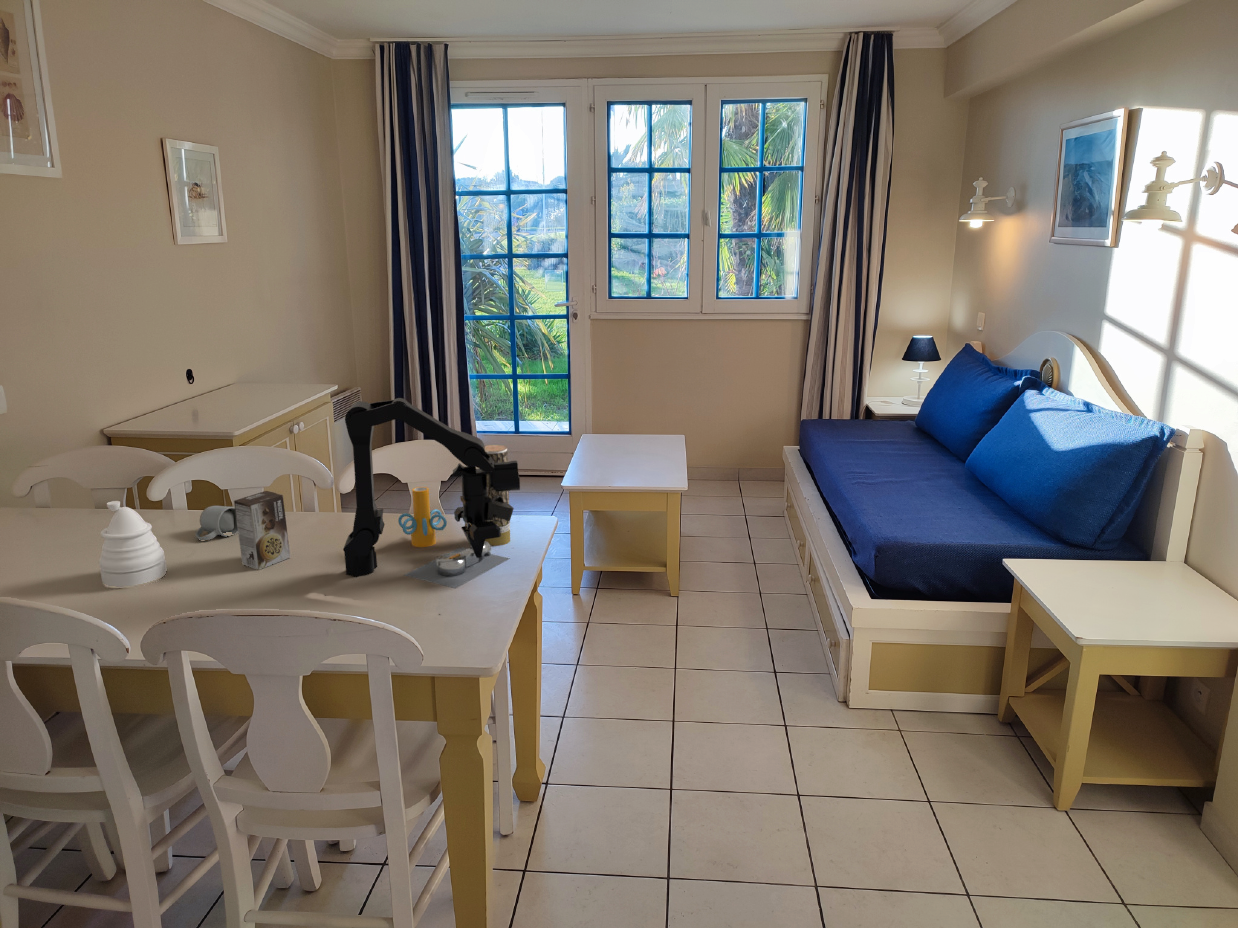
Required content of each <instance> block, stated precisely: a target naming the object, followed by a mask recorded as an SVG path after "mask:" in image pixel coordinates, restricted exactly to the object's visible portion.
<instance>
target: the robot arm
mask: <svg viewBox="0 0 1238 928" xmlns="http://www.w3.org/2000/svg"><path fill="white" fill-rule="evenodd" d="M344 417H345V418H344V423H345V426H346V429H347V430H346V431H347V434H348V437H349V439H350V442H351V444H352V451H353V452H352V453H353V469H354V470H353V471H354V483H355V484H354V485H355V487H354V488H355V501H356V502H355V503H356V508H355V515H354V520H353V526H352V527H353V528H352V531H351V533H349V534H348V536H347V539H346V541H345V544H344V546H343V549H342V550H343V552H344V562H345V563H344V564H345V573H346V575H347V576H350V577H355V578H358V577H365V576H369V575H371V574H373V573H374V572H375V570H376V569H377V568H378V561H377V559H378V558H377V552H376V548H375V547H376V544H377V543H378V541H379V538H380V535H382V534H383V532H384V528H385V521H384V519H383V517H384V515H383V514H384V508H380V509H378V507H377V505H376V502H375V486H374V485H375V483H374V467H373V465H374V464H373V450H372V449H373V448H372V447H373V446H372V443H373V442H372V441H373V437H374V429H375V426H379V425H382V424H385V423H388V422H391V421H396V420H400V421H401V422H403V423H405V424H406V425H408V426H410V427H412V428H413V429H414V430H416V431H419V432H420V433H421V434H424V435H425V436H427V438H430V439H431V440H434V441H435V442H437V443H439V444H440V445H442V446H443V447H444V448H445V449H447V450H448V451H449V452H450V454H451V455H452V456H454V457H455V458H456V459H457V460H458V461H459V463H458V464H457V466H456V467H455V468H454V469H452V477H459V476H460V478H461V481H460V482H461V495H460V496H459V498H460V499H459V500H460V501H461V502H462V506H459V507H456V509H454V520H455V521H456V522H457V523H458V522H460V521H461V519H462V521H463V522H464V526H461V530H462V533H463V534H464V536H465V538H466V540H467V541H468V543H469V545H470V547H472V549H473V551H474V553H475V555H476V557H477V558H480V557H481V556H482V551H483V547H484V543H485V539H491V538H498V537H500V536H501V529H500V527H499V526H497V525H496V524H495V523H494V522H493V521H486V520H493V517H496V518H500V519H505V520H506V521H510V522H511V519H512V517H513V512H514V509H515V508H514V507H513V506H512V505H511V504H510V503H509V504H507V503H504V500H503V498H502V497H500V496H495V497H494V498H493V499H491V498H490V497H489V496H488V491H487V474H490V488H493V490H495V492H500V491H509V492H512V491H516V492H517V491H520V490H521V482H520V481H521V480H520V479H521V478H520V474H519V468H518V467H519V466H518V465H519V464H518V461H517V460H510V461H509V460H508V462H497V463H494V461H493V459H492V457H490V456H489V455H488V453H487V452H486V451H485V446H486V445H485V443H484V442H483V440H482V439H480V438H479V437H477V436H475V435H472V434H469V433H467V432H464V431H460V430H458V429H457V430H456V429H453V428H452V427H450V426H448V425H446V424H445V423H443V422H442V421H440V420H438V419H436V418H434V416H432V415H430V414H428V413H426V412H424V410H422V409H420V408H418V407H416V406H415V405H413V404H412V403H410V402H409V401H408V400H407V399H405V398H402V397H398V398H395V399H390V400H381V401H374V402H371V403H369V402H367V401H356V402H354V403H353V404H352V405H351V406H350V407H349V409H348V410H347V412H346V413H345V416H344ZM460 462H461V463H462V464H463V465H462V464H461V463H460Z"/></svg>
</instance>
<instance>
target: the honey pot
mask: <svg viewBox="0 0 1238 928" xmlns="http://www.w3.org/2000/svg"><path fill="white" fill-rule="evenodd" d="M106 506H107V508H108V510H110V511H111V512H115V513H114V514H113V516H112V518H111V520H110V521H109V525H108V526H107V527H105V528H103V529H102V530H101V532H100V534H99V535H100V537H101V538H104V541H103V544H102V546H101V549H102V551H101V552H100V555H101V556H100V557H99V560H98V564H99V568H100V570H99V572H100V577H101V582H102V581H103V583H104V584H106V585H108V586H116V587H124V586H134V585H138V584H143V583H147V582H150V581H153V580H156V579H157V578H160V577H162V576H163V575H164V574H165V573H166V571H167V570H168V569H167V563H166V556H165V551H164V549H163V547H161V545H160V542H159V541H158V540H157V537H156V536H155V535H154V533H153V531H152V528H153V526H152V524H151V523H149V522H147V521H145V520H144V519H143V518H142V516H141V514H139V513H138V512H137V511H136V510H134V509H133V508H131V507H128V506H123V507H121V501H119V500H112V501H109V502H107V503H106ZM167 572H168V571H167ZM103 583H102V584H103Z"/></svg>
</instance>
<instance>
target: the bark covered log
mask: <svg viewBox="0 0 1238 928" xmlns="http://www.w3.org/2000/svg"><path fill="white" fill-rule="evenodd" d="M484 446H485V451H486V452H487V453H488V455H489V456H490V457H492V459H493V461H494V463H497V462H509V457H508V455H509V454H508V447H507V446H505V445H501V444H489V445H484ZM487 491H488V496H489V497H490V498H491V499H493V498H494V497H495V496H500V497H502V498H503V500H504V503H507V504H509V505H510V491H500V492H495V490H493V488H490V474H487ZM486 521H493V522H494V523H495V524H496V525H497V526H499V527H500V529H501V536H500V537H498V538H491V539H485V541H486V542H488V543H489V544H490V546H491V547H492V546H493V547H498V546H504V545H507V544H510V542H511V520H510V521H506V520H505V519H500V518H496V517H493V520H486Z"/></svg>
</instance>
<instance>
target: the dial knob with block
mask: <svg viewBox="0 0 1238 928" xmlns="http://www.w3.org/2000/svg"><path fill="white" fill-rule="evenodd" d="M435 560H437V573H438V574H440V575H443V576H455V575H459V574H462V573H464V572H465V570H466V567H468V566H470V565H473V564H475V563H477V562H480V561H482V556H481V557H480V558H477V557H476V555H475V553H474V551H473V549H472V547H471V546H469V548H466V550H464V551H461V552H459V553H450V552H448V553H444V554H441V555H439V556H437V557H436V559H435Z"/></svg>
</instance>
